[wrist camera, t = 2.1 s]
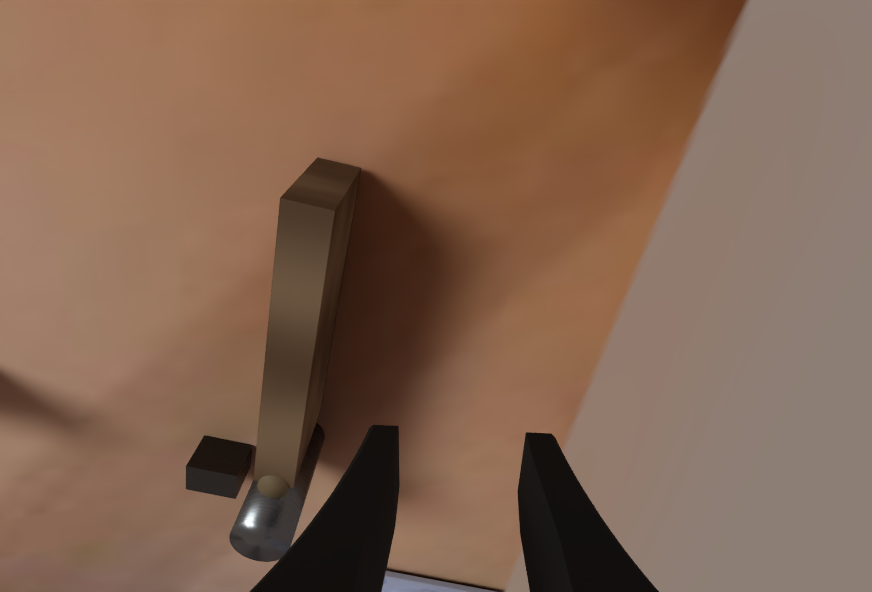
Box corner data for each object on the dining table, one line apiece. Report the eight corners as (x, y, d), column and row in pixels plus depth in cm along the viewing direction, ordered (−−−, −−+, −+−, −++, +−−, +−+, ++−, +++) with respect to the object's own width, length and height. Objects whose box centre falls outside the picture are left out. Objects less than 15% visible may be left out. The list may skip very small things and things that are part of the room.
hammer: (327, 421, 26) (292, 528, 21) (316, 480, 28) (283, 591, 23) (-152, 321, 24) (-321, 410, 19) (-127, 392, 26) (-273, 489, 21)
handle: (318, 423, 26) (290, 501, 22) (284, 416, 25) (251, 494, 21) (360, 167, 19) (334, 211, 15) (317, 157, 19) (279, 199, 15)
